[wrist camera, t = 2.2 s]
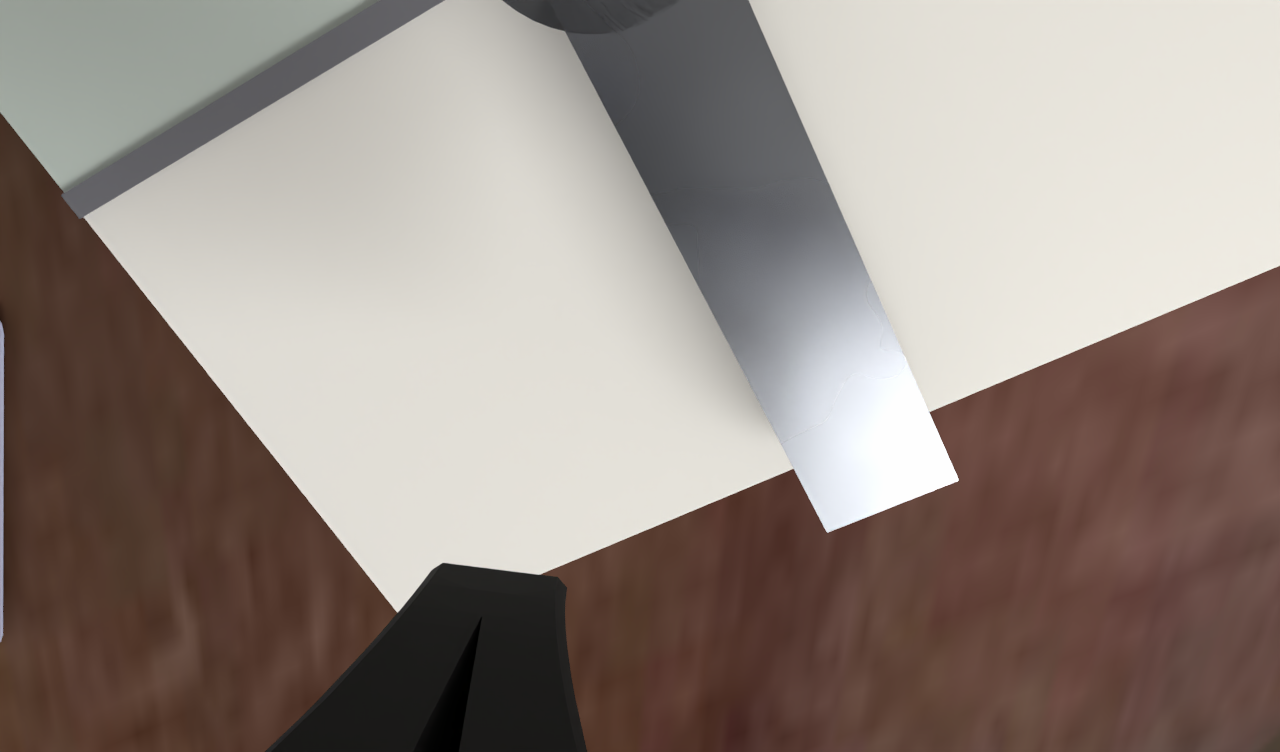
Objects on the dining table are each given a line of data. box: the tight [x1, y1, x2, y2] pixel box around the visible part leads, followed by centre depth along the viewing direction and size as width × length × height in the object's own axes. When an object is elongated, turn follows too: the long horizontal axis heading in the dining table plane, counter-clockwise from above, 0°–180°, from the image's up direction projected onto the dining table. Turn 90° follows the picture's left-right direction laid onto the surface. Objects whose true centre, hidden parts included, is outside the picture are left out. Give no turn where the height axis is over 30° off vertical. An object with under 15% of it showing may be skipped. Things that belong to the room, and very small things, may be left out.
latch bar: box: [502, 0, 959, 533], centre depth 12 cm, size 11×3×1 cm, turn 28°
